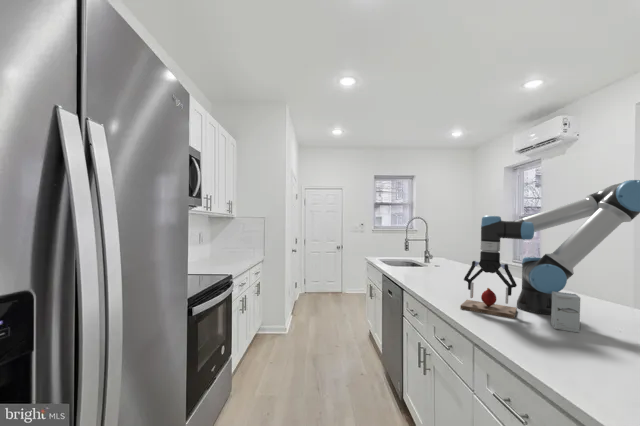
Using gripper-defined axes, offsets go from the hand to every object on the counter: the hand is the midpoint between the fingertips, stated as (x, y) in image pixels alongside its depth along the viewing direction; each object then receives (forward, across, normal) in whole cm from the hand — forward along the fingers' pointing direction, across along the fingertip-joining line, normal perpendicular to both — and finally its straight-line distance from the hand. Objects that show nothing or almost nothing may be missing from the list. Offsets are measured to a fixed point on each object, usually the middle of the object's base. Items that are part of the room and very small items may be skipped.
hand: (488, 300), depth 139 cm
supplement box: (+4, +26, -8) cm, 28 cm away
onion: (+3, 0, 0) cm, 3 cm away
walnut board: (+4, 0, 0) cm, 4 cm away
